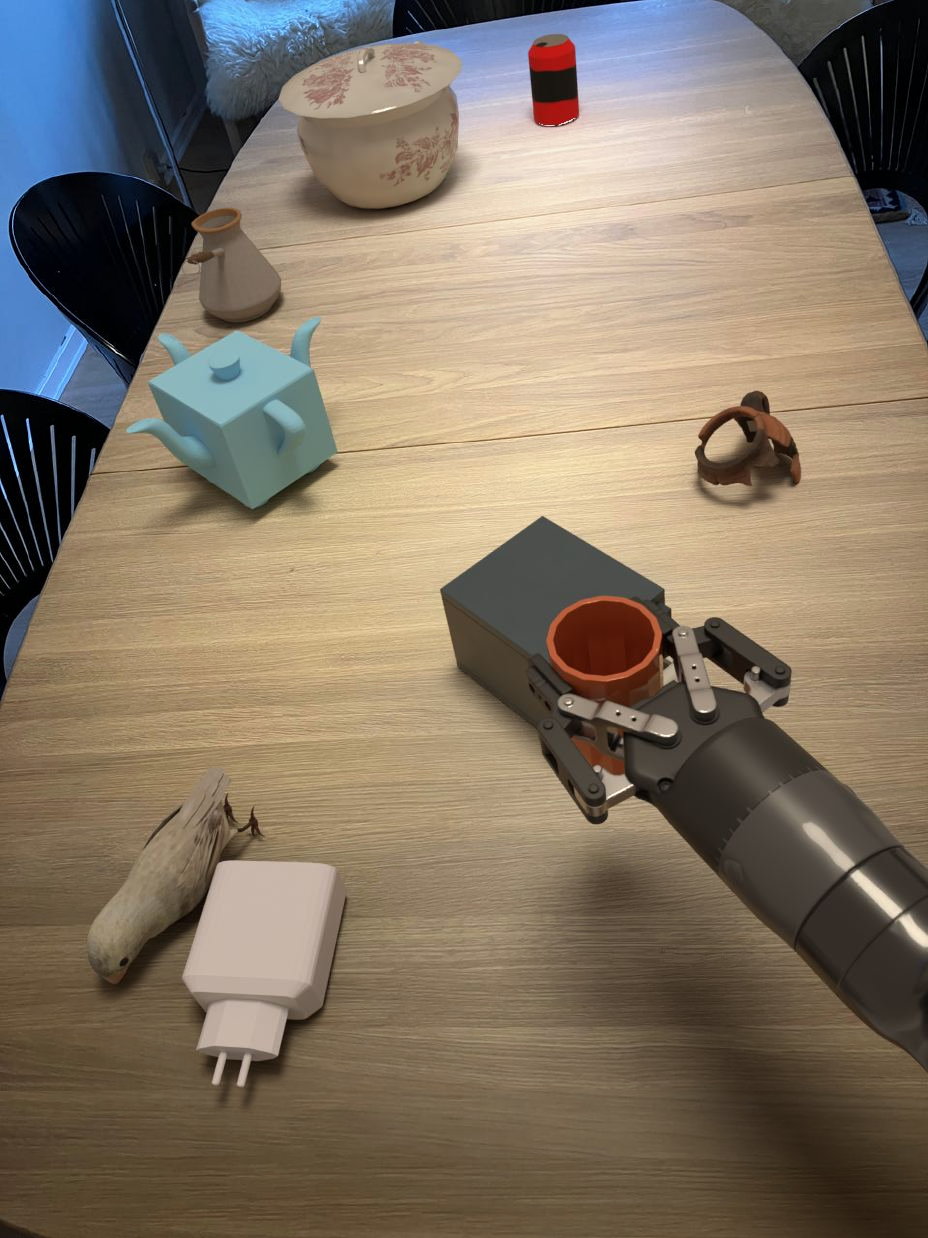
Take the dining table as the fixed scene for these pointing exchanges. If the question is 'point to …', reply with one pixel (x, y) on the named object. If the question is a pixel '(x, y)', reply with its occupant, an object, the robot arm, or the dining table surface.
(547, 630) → the cabinet
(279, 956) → the charger
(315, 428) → the teakettle
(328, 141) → the chamber pot
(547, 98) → the soda can
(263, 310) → the coffee pot
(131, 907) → the decorative bird
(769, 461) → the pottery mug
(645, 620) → the cup
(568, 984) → the dining table surface
